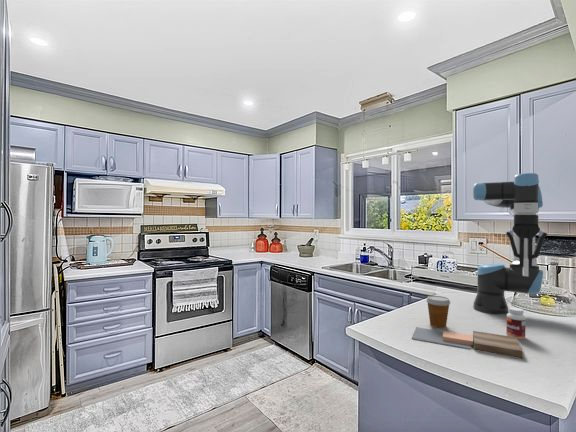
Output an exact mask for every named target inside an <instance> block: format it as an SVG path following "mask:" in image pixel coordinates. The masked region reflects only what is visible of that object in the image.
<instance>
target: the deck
mask: <svg viewBox="0 0 576 432" xmlns="http://www.w3.org/2000/svg"><path fill="white" fill-rule="evenodd" d="M472 338H473V350H474V351H478V352H483V353H489V354H495V355H499V356H505V357H510V358H517V359H523V349H522V346H521V345H520V343H519V341H518V340H519V339H517V338H516V337H511V336H508V335H503V334H496V333H490V332H489V333H488V332H483V331H476V330H473V331H472Z"/></svg>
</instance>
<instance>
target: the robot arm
mask: <svg viewBox="0 0 576 432" xmlns="http://www.w3.org/2000/svg"><path fill="white" fill-rule="evenodd" d="M513 180H514V181H499V182H498V181H497V182H479V183H477V182H476V183H474V184H473V189H472V190H473V191H472V192H473V193H472V194H473V195H472V196H473V199H474V200H475V201H483V202H484V203H485V204H486V205H489V206H492V207H497V208H504V209H505V208H507V209H509V210H510V213H512V214H513V226H512V228H511V230H509V231H506V232H505V235H506V236H507V238H508V239H509V243H510V247H511V251H512V254H513V261H512V262H510V264H509V267H506V266H505V264H503V263H485V264H481V265H479V266H478V267H477V274H476V275H477V285H476V286H477V290H476V291H477V292H476V293H477V294H476V296H475V298H474V301H473V305H472V306H473V309H475V310H476V311H479V312H482V313H487V314H493V315H507V314H508V313H509V306H508V304H507V303H508V302H507V300H506V298H505V292H511V293H519V294H527V295H528V294H529V295H538V294H540V292H541V288H542V283H543V277H544V270H542V269H540V265H538V264H537V263H536V259H537V258H538V257H539V256H540V252H541V249H542V246H543V243H544V240H545V238H546V237H547V236H548V233H547V232H544V231H542V230H541V228H540V227H539V215H538V213H539V212H540V209H541V208H542V207H543V206H544V205H543V196H542V190H541V187H540V185H539V183H540V180H539V174H537V173H536V172H533V173H532V172H528V173H519V174H517V173H516V174H515V175H514V179H513ZM537 235H538V239H537V242H536V236H537Z"/></svg>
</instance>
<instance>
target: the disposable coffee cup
mask: <svg viewBox="0 0 576 432" xmlns="http://www.w3.org/2000/svg"><path fill="white" fill-rule="evenodd" d="M426 298H427V299H426V303H427V309H428V317H429V325H430V326H432V327H434V328H440V329H444V328H446V327H447V323H448V316H449V309H450V304H451V301H450V298H448V297H446V296H441V295H428V296H427V297H426Z"/></svg>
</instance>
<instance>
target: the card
mask: <svg viewBox="0 0 576 432" xmlns="http://www.w3.org/2000/svg"><path fill="white" fill-rule="evenodd" d="M442 331H443V341H449V342H455V343H461V344H467V345H471V346H474V342H473V334H467V333H460V332H455V331H448V330H442Z"/></svg>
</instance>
